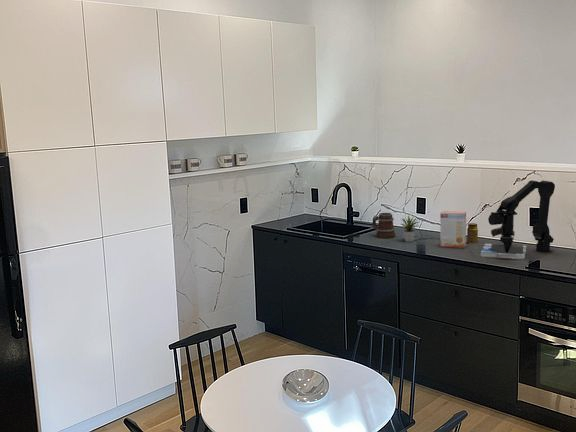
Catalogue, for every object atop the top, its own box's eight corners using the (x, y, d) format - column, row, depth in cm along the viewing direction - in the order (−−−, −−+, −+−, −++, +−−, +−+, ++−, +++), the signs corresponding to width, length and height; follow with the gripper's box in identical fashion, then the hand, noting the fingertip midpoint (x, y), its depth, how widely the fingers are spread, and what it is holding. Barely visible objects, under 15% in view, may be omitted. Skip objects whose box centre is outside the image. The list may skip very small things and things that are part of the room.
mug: (398, 235, 386) (398, 212, 383) (389, 239, 376) (389, 216, 374) (376, 233, 395) (376, 211, 393) (367, 236, 386) (367, 214, 383)
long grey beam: (522, 252, 321) (523, 245, 321) (522, 254, 318) (522, 247, 317) (491, 250, 328) (491, 243, 327) (491, 252, 324) (491, 245, 323)
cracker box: (466, 246, 351) (466, 211, 347) (464, 248, 345) (465, 213, 341) (442, 244, 356) (442, 210, 353) (440, 247, 351) (440, 212, 347)
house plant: (410, 244, 360) (410, 218, 357) (392, 241, 370) (392, 215, 367) (424, 240, 369) (424, 214, 366) (406, 237, 379) (406, 212, 376)
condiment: (480, 243, 355) (481, 223, 353) (471, 245, 351) (471, 226, 349) (470, 241, 361) (471, 222, 359) (461, 243, 357) (461, 224, 355)
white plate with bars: (526, 251, 334) (526, 243, 333) (524, 260, 314) (524, 252, 313) (484, 248, 343) (485, 241, 342) (480, 258, 323) (480, 250, 322)
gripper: (493, 219, 331) (493, 246, 334) (490, 226, 315) (489, 254, 317) (514, 220, 327) (514, 247, 330) (512, 227, 310) (512, 256, 313)
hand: (507, 251), depth 323 cm, fingers closed on long grey beam, 4 cm apart
